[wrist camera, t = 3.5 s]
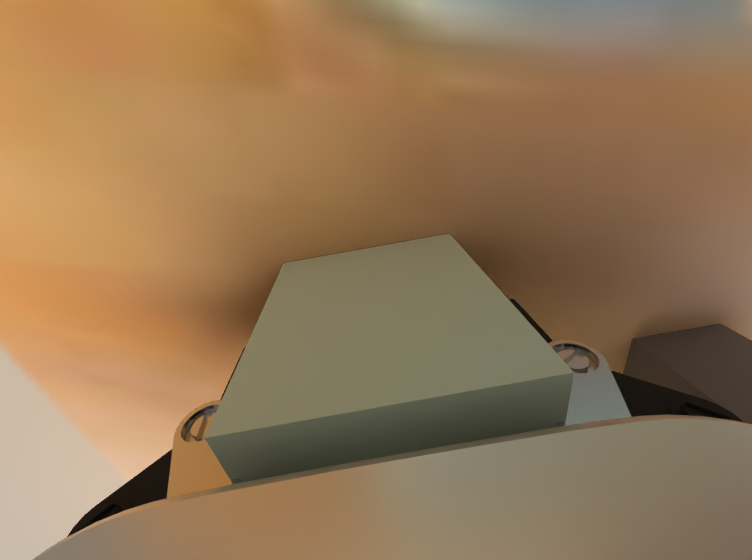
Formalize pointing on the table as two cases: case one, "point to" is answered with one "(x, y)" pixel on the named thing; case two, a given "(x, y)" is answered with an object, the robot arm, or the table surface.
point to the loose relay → (698, 365)
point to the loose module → (383, 363)
